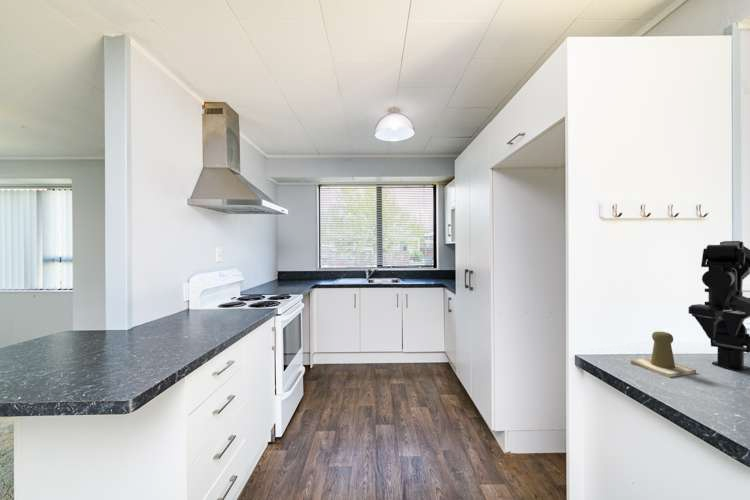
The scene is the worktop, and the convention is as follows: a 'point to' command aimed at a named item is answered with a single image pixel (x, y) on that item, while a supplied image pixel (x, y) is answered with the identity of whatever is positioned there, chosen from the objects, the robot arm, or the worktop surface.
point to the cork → (662, 350)
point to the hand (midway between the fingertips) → (722, 337)
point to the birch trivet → (664, 371)
